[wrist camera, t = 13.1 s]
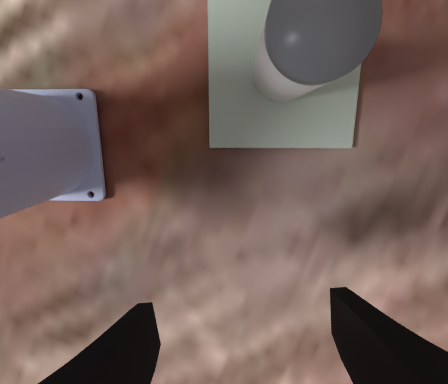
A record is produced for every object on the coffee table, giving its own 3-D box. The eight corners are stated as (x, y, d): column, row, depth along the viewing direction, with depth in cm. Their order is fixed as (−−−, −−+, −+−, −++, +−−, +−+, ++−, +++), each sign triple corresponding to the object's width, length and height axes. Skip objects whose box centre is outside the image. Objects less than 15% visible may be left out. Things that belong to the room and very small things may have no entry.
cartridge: (239, 76, 18) (243, 32, 10) (279, 23, 17) (321, -75, 9) (284, 115, 18) (325, 104, 10) (325, 65, 17) (407, 10, 9)
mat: (210, 147, 20) (209, 147, 19) (208, -10, 17) (207, -14, 17) (349, 147, 19) (352, 148, 19) (366, -13, 17) (369, -17, 16)
